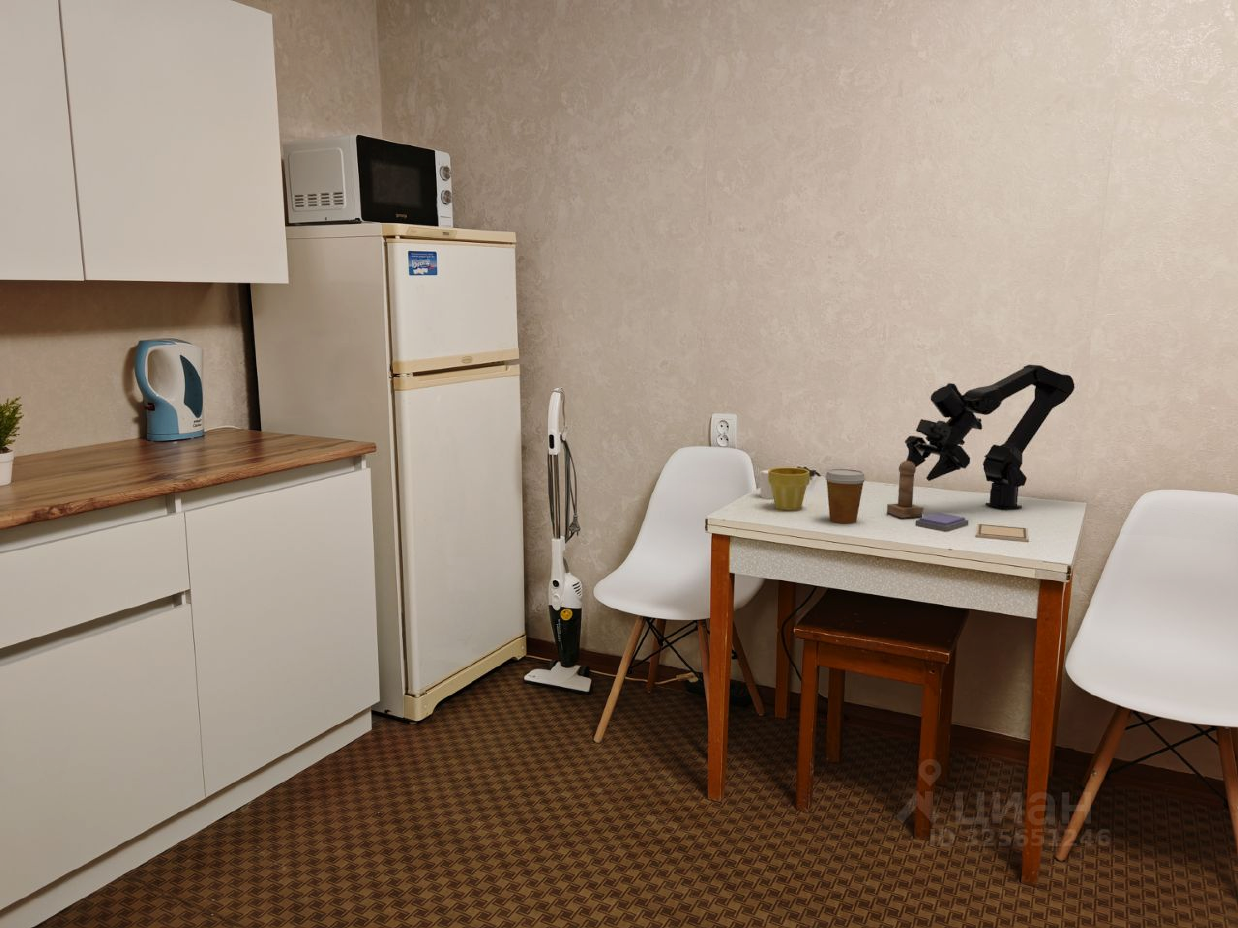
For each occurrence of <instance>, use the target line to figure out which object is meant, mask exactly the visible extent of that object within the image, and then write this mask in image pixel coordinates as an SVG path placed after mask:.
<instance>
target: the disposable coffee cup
mask: <svg viewBox="0 0 1238 928" xmlns="http://www.w3.org/2000/svg"><path fill="white" fill-rule="evenodd" d="M824 478H825V481H826V488H827V502H828V513H829V514H828V515H829V521H831V522H833V523H836V524H847V525H848V524H854V523H856V522H857V519H858V514H859V510H860V509H859V507H860V503H861V498H862V492H863V486H864V483H865V480H866V476H865V473H864V471H861V470H858V469H854V468H853V469H851V468H832V469H831V468H830V469H828V470H827V471H826V474H825V475H824Z"/></svg>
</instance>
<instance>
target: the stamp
mask: <svg viewBox="0 0 1238 928" xmlns="http://www.w3.org/2000/svg"><path fill="white" fill-rule="evenodd" d="M916 471H917V467H915V465H914V463H912V462H911V461H906V460H904V461H902V462H901V463H899V466H898V473H899V481H898V497H897V503H888V504H887V505H886V515H887V516H889V515H890V516H889V517H893V518H896V519H899V520H902V521H903V520H904V521H905V520H915V519H916V520H918V519H919V518H922V517H923V515H924V514H923V513H924V511H923V510H924V508H923V507H921V506H918V505H917V504H916V505H915V504H913V501H914V500H913V499H914V483H915V473H916Z"/></svg>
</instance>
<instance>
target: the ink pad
mask: <svg viewBox="0 0 1238 928" xmlns="http://www.w3.org/2000/svg"><path fill="white" fill-rule="evenodd" d="M969 522H970V521H969V519H966V517H964V516H960V515H959V516H958V515H954V514H947V513H943V512H936V513H933V514H930V515H926V516H922V518H918V519H916V520H915V526H917V527H922V528H926V529H932V530H935V531H942V532H945V531H946V532H951V531H954V530H956V529H961V528H963V527H966V526H969Z"/></svg>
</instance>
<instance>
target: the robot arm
mask: <svg viewBox="0 0 1238 928" xmlns="http://www.w3.org/2000/svg"><path fill="white" fill-rule="evenodd" d="M1031 385H1032V386H1034V387H1035V388H1034V400H1033V401H1032V402H1031V403H1030V405H1029V407H1027V410H1026V411H1025V412H1024V414H1023V416H1022V417H1021V419H1020V420H1019V421H1018V423H1017V425H1015V428H1013V430H1012V432H1011V433H1010V434H1009V436H1008V437H1007V439H1006V441H1005V442H1004V443H1002V444H1001V445H999V444H998V445H997V444H992V446H991V447H990V449H989V451H988V452H987V454H985V455H984V459H983V460H984V461H983V463H982V466H983V471H984V474H985V475H984V476H985V479H986V482H991V489H990V493H989V502H985V504H984V505H985V506H988V507H991V508H992V507H993V508H996V509H1001V510H1003V511H1005V510H1015V509H1022V507H1023V505H1020V504H1018V497H1019V488H1021V487H1023V486H1025V485H1026V482H1027V480H1028V479H1027V476H1026V475H1025V473H1024V472H1023V471H1022V469H1021V467H1022V466H1023V453H1024V451H1025V450H1026V448H1027V447H1028V446H1029V444H1030V443H1031V441H1032V440H1033V438H1034V436H1035V435H1036V433H1037V432H1038V431H1039V429H1040V428H1041V426H1042V425H1043V423H1044V422H1045V420H1046V419H1047V417H1048V416H1049V415H1050V413H1051V411H1052V410H1053V409H1055V408H1056V407H1058V406H1059V405H1061V404H1063V403H1064V402H1066V400H1067V399H1068V398H1070V396H1071V395H1072V393H1073V392H1074V390H1075V388H1076V386H1075V382H1074V379H1073V378H1072V376H1071V375H1069V374H1063V373H1059V372H1057V371H1054V370H1051V369H1048V368H1047V367H1046V366H1043V365H1040V364H1039V365H1038V364H1026V365H1025V366H1023V367H1022V368H1021V369H1019V370H1017V371H1015V372H1013V373H1012V374H1009V375H1008V376H1006V377H1004V378H1002V379H1001V380H998V381H996V382H995V383H993V384H989V385H985V386H980V387H979V386H978V387H976V388H972V389H969V390H967V391H966V392H965V393H964V394H962V393H961V392H960V391H959V389H958V387H957V385H956V384H955V383H951V382H949V383H947V384H946V385H945V386H942V387H940V388H938V389H937V390H934V391H933V392H932V393H931V396H930V401H931V402H932V404H933V405H934V406H935V408H936V409H937V410H938V412H939V413H940V414H941V416H943V418H949V419H948V420H947V421H945V420H938V421H932V420H930V419H929V420H928V419H923V418H922V419H920V420H919V423H918V425H917V427H916V429H915V431H916V433H920V434H922V435H924V436H926V437H925V439H926V441H927V442H929V443H927V442H926V441H925V439H924V438H923V437H921V436H915V435H909V436H908V437H907V438H906V439H905V440H904V443H905V444H906V445H905V446H906V447H907V449H908V454H907V458H906V460H905V461H911V462H912V463H914V465H915V467H916V468H917V467H918V466H920V465H922V464H923V463H925V462H926V459H927V458H929V457H930V456H931V454H932V455H937V456H939V459H938V461H937V462H936V463H935V464H934V466H933V467H932V469H931V470H930V472H928V474H927V476H926V480H927V481H928V482H931V481H933V480H934V479H938V478H940V477H942V476H944V475H947V474H950V473H952V472H956V471H960V470H961V469H967V467H968V466H969V465H970V464H971V457H970V456H969V454H968V453H967V451H965V449H964V448H963V445H964V444H966V441H965V440H964V438H965V437H967V435H968V434H969V433H970V432H971V431H972V429H974V430H979V431H980V430H981V431H982V429H983V425H982V418H979V417H977V416H976V415H975V414H978V415H985V416H987V415H991V414H992V413H994V412H995V411H996V410H997V409H999V408H1000V406H1001V404H1002V403H1003V401H1004V400H1007V399H1008V398H1010V397H1012V396H1013V395H1016V394H1017V393H1019V392H1021V391H1023V390H1024V389H1026V388H1028V387H1030V386H1031Z"/></svg>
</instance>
